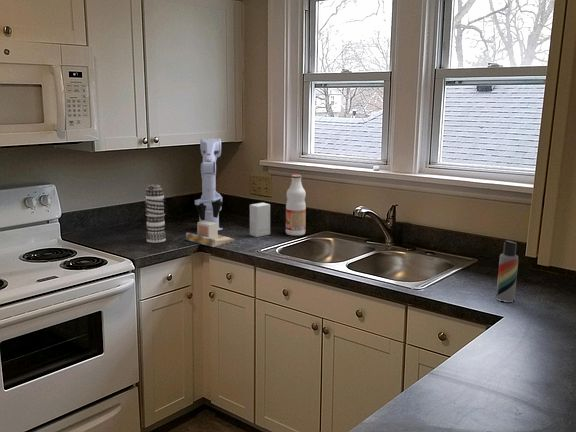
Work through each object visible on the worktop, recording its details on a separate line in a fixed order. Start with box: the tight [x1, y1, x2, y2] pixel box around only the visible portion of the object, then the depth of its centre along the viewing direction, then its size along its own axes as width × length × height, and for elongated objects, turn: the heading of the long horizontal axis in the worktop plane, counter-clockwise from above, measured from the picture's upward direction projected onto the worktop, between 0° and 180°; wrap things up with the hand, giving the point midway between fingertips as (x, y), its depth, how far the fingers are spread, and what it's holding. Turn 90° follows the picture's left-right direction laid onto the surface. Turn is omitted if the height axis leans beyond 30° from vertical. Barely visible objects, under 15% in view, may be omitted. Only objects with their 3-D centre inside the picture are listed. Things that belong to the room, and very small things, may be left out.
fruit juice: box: [285, 174, 307, 236], centre depth 277 cm, size 9×9×28 cm
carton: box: [196, 221, 219, 239], centre depth 262 cm, size 5×8×7 cm, turn 49°
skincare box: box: [249, 202, 271, 238], centre depth 274 cm, size 8×6×15 cm
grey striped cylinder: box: [144, 183, 167, 244], centre depth 260 cm, size 9×9×25 cm
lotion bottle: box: [495, 240, 519, 301], centre depth 190 cm, size 6×6×20 cm
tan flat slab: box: [185, 232, 236, 248], centre depth 263 cm, size 18×14×3 cm
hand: (209, 218), depth 263 cm, fingers open, 7 cm apart
